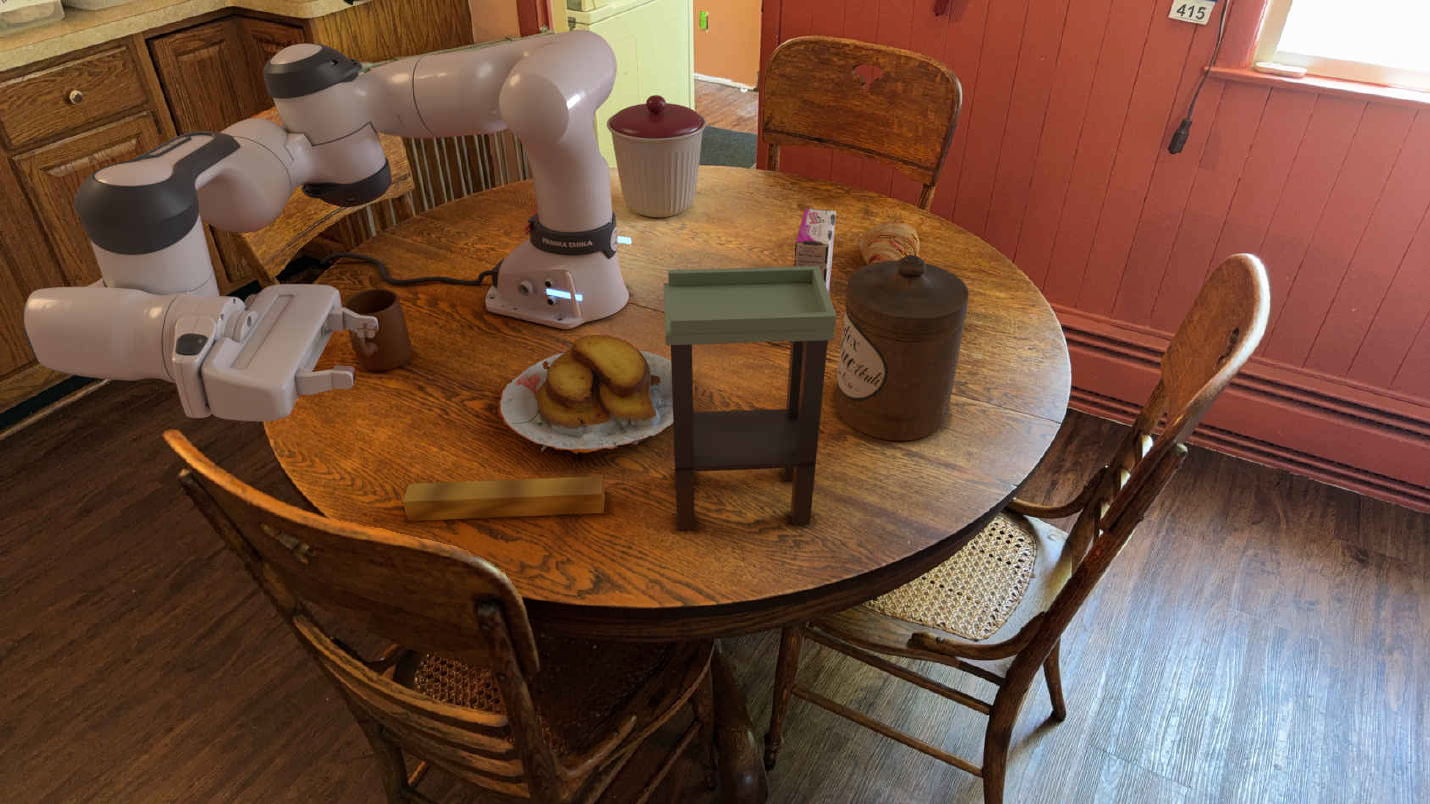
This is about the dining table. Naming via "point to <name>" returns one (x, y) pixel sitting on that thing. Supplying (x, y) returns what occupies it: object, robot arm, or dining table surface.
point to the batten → (504, 498)
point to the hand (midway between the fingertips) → (365, 351)
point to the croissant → (889, 242)
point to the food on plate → (591, 397)
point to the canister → (657, 155)
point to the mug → (380, 330)
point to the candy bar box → (816, 241)
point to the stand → (749, 314)
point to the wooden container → (899, 348)
